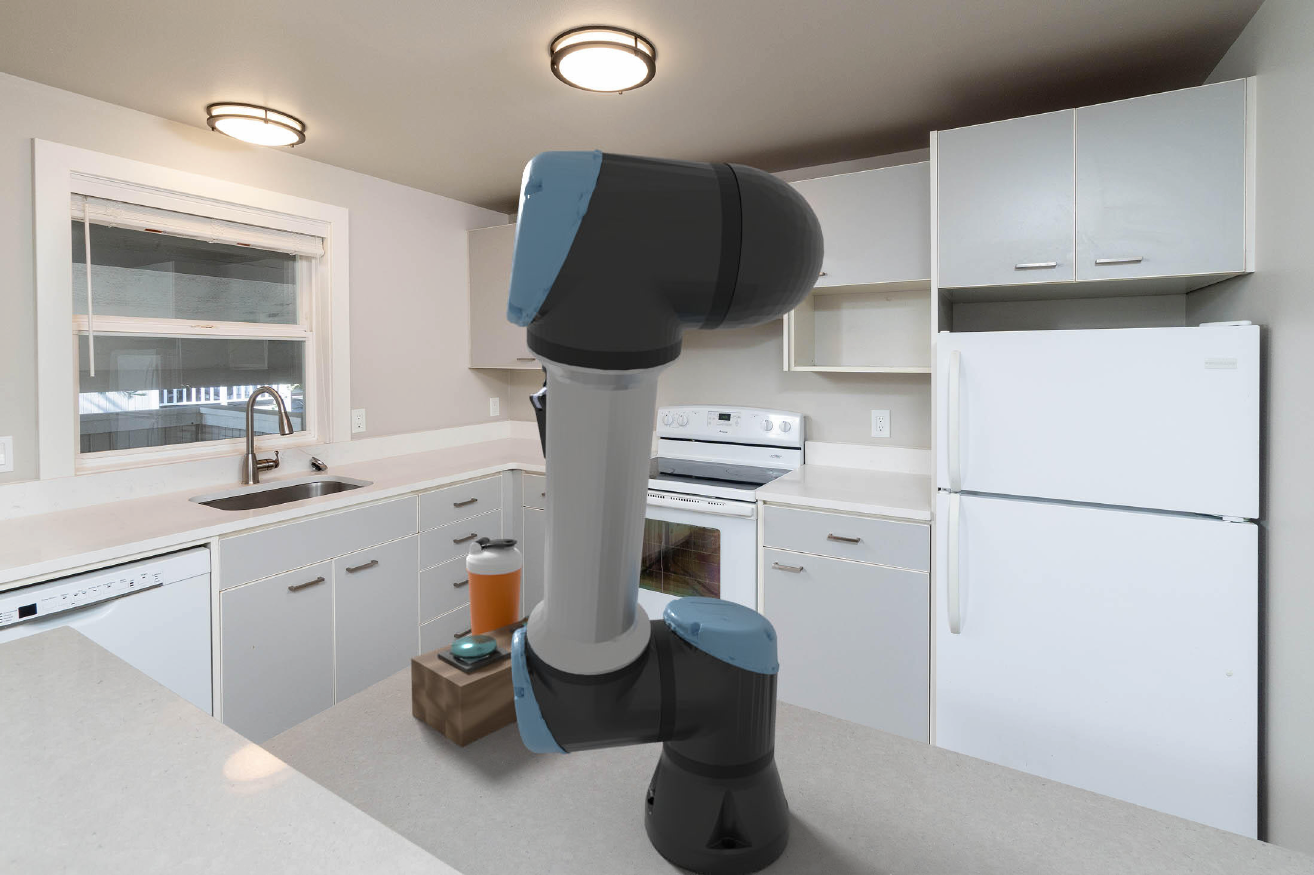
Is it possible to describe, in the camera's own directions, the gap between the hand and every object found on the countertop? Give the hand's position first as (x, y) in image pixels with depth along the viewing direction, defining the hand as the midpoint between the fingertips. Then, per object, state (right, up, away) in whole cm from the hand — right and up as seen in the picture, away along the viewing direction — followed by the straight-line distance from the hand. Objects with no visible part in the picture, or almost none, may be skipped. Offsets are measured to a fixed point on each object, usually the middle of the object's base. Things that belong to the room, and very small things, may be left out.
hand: (567, 506), depth 95 cm
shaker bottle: (-14, -27, +11) cm, 32 cm away
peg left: (-12, -28, -6) cm, 31 cm away
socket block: (-8, -28, -1) cm, 29 cm away
